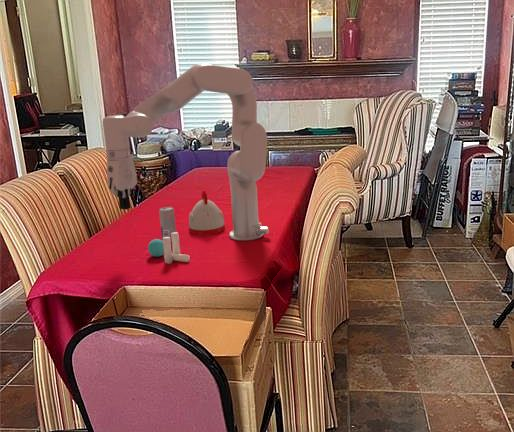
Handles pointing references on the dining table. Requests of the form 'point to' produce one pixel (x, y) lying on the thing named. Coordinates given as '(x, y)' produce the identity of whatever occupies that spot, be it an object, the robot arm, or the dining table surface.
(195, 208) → the kitchen timer
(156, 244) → the ball
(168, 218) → the energy drink
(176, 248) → the pin
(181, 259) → the front pin
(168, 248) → the pin
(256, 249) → the dining table surface
